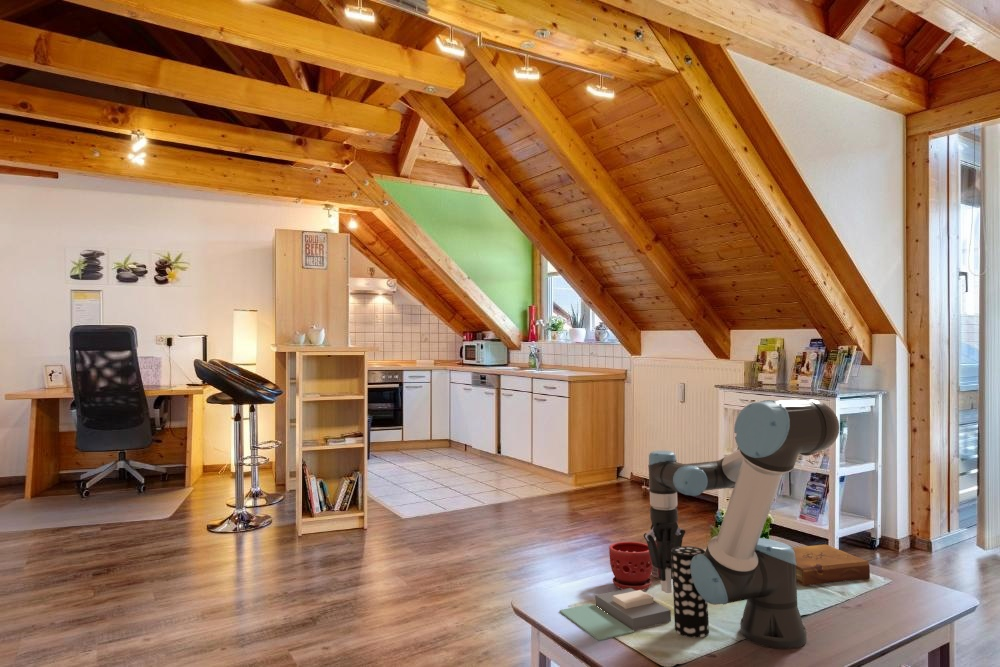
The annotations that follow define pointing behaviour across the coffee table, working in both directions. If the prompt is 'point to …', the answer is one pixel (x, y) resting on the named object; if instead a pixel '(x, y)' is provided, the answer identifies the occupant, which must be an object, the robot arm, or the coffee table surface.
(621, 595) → the block
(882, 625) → the coffee table surface
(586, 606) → the mat
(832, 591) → the coffee table surface
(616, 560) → the plant pot
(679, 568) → the spotted tube
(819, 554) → the diary
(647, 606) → the grey flat box
